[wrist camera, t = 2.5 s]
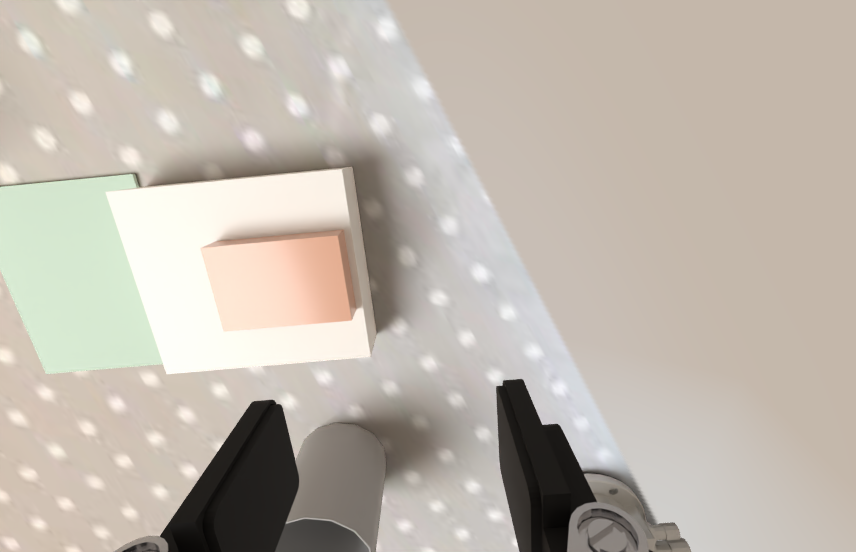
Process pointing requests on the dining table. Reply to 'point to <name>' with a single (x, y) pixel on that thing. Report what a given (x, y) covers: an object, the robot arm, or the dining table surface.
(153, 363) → the mat
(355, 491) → the cup
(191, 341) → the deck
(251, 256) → the tile
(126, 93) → the dining table surface
